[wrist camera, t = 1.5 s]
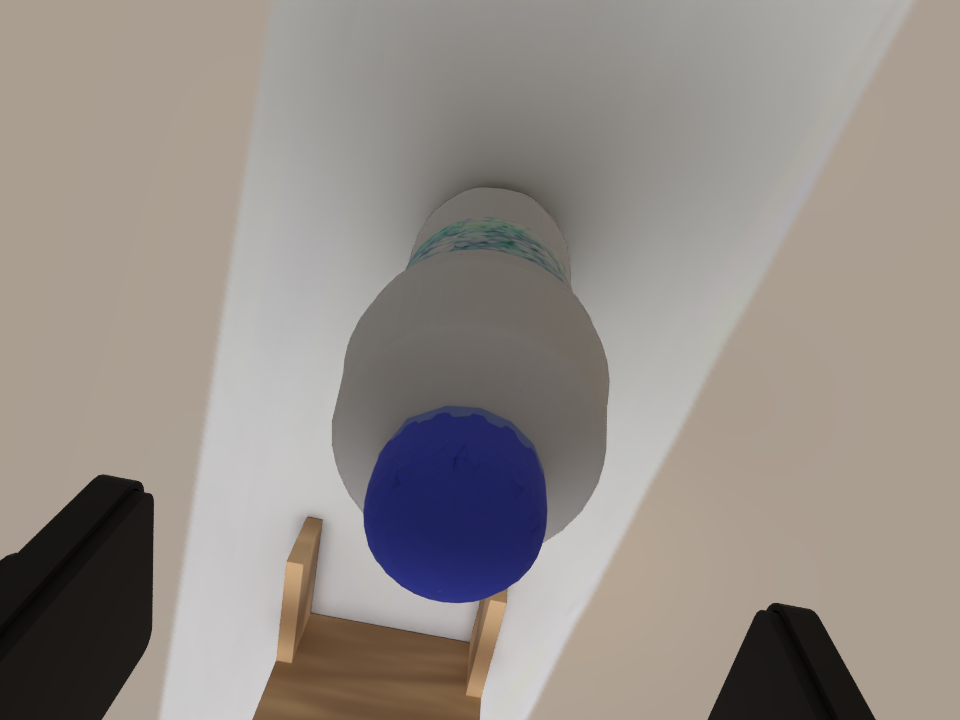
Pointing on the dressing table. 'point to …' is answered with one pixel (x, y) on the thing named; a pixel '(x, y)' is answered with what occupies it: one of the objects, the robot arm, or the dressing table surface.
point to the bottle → (473, 401)
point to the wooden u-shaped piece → (370, 659)
